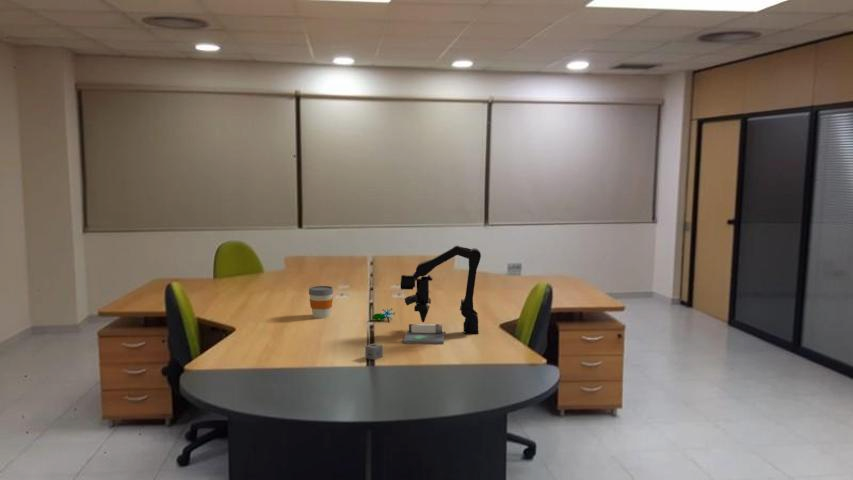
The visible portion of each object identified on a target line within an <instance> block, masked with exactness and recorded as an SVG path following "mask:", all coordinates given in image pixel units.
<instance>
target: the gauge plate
mask: <svg viewBox="0 0 853 480" xmlns="http://www.w3.org/2000/svg"><path fill="white" fill-rule="evenodd" d="M446 334H447V333H446V331H442V333H440V334H437V333H414V332H409V330H407V331H406V333H405V336H404V338H403V340H402V343H403V344H425V345H426V344H429V345H430V344H432V345H443V344H444V343H445V340H446Z"/></svg>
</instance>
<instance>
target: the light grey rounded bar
mask: <svg viewBox="0 0 853 480" xmlns="http://www.w3.org/2000/svg"><path fill="white" fill-rule="evenodd" d="M408 331H409V332H414V333H437V334H440V333H442V332H443V324H440V323H438V324H437V323H436V324H429V323H428V324H426V323H423V324H422V323H421V324H420V323H417V324H416V323H415V324H413V323H408Z"/></svg>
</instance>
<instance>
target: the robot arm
mask: <svg viewBox="0 0 853 480" xmlns="http://www.w3.org/2000/svg"><path fill="white" fill-rule="evenodd" d="M456 256H460V257H462V258H464V259H468V274H467V279H466V281H467V282H466V289H465V296H464V298H463V299H461V300H460V306H459V311H460V314H461V315H462V317H464V321H463V332H464V334H465V335H467V334H470V335H479V331H480V330H479V318H478V317H479V315H478V312H477V311H476V310H475V309H474V293H475V292H474V291H475V285H476V277H477V270H478V267H479V265H480V261H481V257H482V255H481V251H480V249H478V248H468V247H463V246H459V245H455V246H453V247H452V248H450V249H448V250H446V251H444V252H443V253H441V254H439V255H437V256H435V257H434V258H432V259H429V260H425V261H422V262H419V263H418V264H417V265H416V269H415V272H414V273H413V274H412V275H409V274H408V275H407V274H401V275H400V277H401V278H400V290H402V291H403V290H404V291H405V290H408V291H409V290H412V291H413V290H414V288H416V292H415V293H414V294H410V295H408V296H406V297H404V301H405V302H404V303H405V304H406V306H410V305H411V304H412V305H413V304H414V303H415V305H414V307H413V308H414V312H419V316H420V321H421V323H425V321H426V318H427V315H428V312H429V310H430V307H431V306H430V305H431V303H432V299H431V298H430V286H429V285H430V282H432V281H433V277H432V276H431V275H430V274H429V273H430V272H432V270H434V269H435V268H436V267H439V266H440V265H441V264H444V263H446V262H447V261H449V260H450V259H453V258H454V257H456ZM426 275H427V276H426ZM428 304H429V305H428Z"/></svg>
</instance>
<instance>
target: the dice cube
mask: <svg viewBox="0 0 853 480" xmlns="http://www.w3.org/2000/svg"><path fill="white" fill-rule="evenodd" d="M383 347H384V346H383V344H379V343H378V344H377V343H370V344H367V345H365V358H366V359H368V360H369V359H370V360H373V361H375V360H378V359H381V358H383V357H384V356H383V355H384V351H383V350H384V348H383Z"/></svg>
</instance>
